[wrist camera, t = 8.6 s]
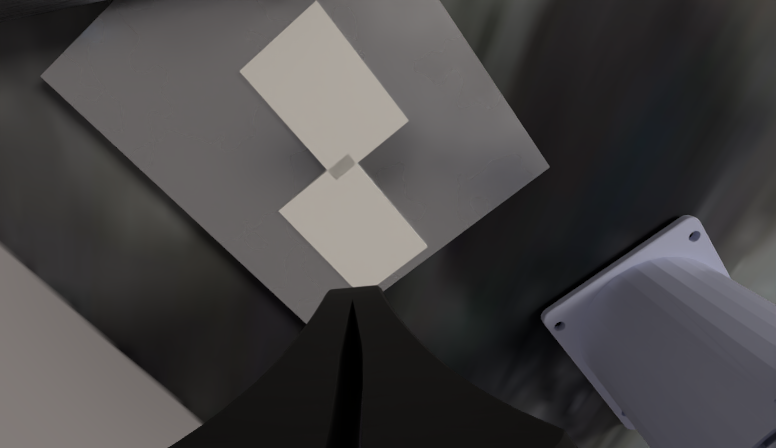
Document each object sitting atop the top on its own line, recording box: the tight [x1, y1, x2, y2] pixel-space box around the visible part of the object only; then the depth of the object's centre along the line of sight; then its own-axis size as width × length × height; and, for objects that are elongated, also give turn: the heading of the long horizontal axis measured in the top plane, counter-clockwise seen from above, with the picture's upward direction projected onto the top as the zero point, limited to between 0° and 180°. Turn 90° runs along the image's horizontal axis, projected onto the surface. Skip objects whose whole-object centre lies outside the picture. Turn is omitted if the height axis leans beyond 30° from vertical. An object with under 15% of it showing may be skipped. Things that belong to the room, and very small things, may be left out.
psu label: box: [240, 0, 409, 178], centre depth 15 cm, size 5×4×1 cm
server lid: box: [40, 0, 549, 324], centre depth 16 cm, size 14×12×1 cm
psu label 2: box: [279, 154, 427, 287], centre depth 17 cm, size 5×4×1 cm
